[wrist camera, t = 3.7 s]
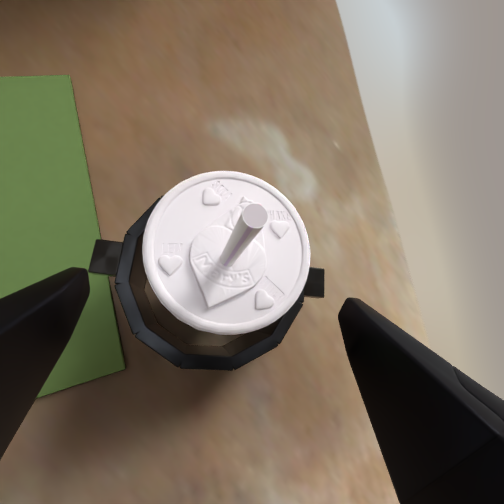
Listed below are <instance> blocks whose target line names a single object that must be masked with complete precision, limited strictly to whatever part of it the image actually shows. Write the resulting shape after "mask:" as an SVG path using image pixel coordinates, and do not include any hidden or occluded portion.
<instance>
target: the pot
mask: <svg viewBox="0 0 504 504" xmlns="http://www.w3.org/2000/svg"><path fill="white" fill-rule="evenodd" d="M162 197H163V196H161V198H158V199H157V200H156V201H155V202H154V203H153V205H152V206H151V207H150V208H149V209H148V210H147V211H146V212H145V213H144V214H143V215H142V216H141V217H140V218H139V219H138V220H137V221H136V222H135V223H134V224H133V225H132V226H131V227H130V228H129V229H128V231H127V234H125V237H124V241H123V242H116V241H108V240H101V239H96V241H95V245H94V249H93V253H92V257H91V261H90V265H89V269H88V272H89V273H92V274H95V275H104V276H113V277H116V278H115V284H116V285H115V289H116V291H117V294H118V297H119V299H120V302H121V305H122V307H123V310H124V312H125V315H126V318H127V320H128V323H129V326H130V328H131V331H132V334H133V335H134V334H136V335H135V337H136V338H137V339H139V340H140V341H141V342H143V343H144V344H146V345H147V346H148V347H150V348H151V349H153V350H154V351H155V352H157V353H158V354H160V355H161V356H162V357H164V358H165V359H167V360H168V361H169V362H171V363H172V364H174V365H175V366H176V367H179V366H180V368H181V369H204V370H227V371H232V370H233V368H234V370H236V369H238V368H240V367H241V366H243V365H245V364H247V363H249V362H250V361H252V360H254V359H256V358H258V357H259V356H261V355H263V354H265V353H267V352H268V351H270V350H272V349H274V348H276V347H277V346H278V344H280V343H281V341H282V340H283V338H284V336H285V334H286V333H287V331H288V329H289V328H290V326H291V324H292V323H293V321H294V319H295V318H296V316H297V314H298V312H299V311H300V309H301V307H302V306H303V304H302V303H303V302H304V297H310V298H324V269H321V268H313V267H309V272H308V276H307V280H306V283H305V285H304V288H303V290H302V292H301V294H300V295H299V297H298V299H297V300H296V301H295V303H294V304H293V305H292V307H291V308H290V309H289V310H288V311H287V312H286V313H285V314H284V315H283V316H281V317H280V318H279V319H277V320H276V321H275V322H273V323H271V324H269V325H268V326H266V327H263V328H261V329H259V330H255V331H252V332H249V333H247V334H246V335H244V336H242V337H240V338H238V339H236V340H234V341H232V342H230V343H228V344H226V345H224V346H222V347H221V346H205V345H189V344H185V343H184V342H183V341H181V340H180V339H178V338H177V337H176V336H174V335H173V334H171V333H170V332H169V331H167V330H166V329H164V328H163V327H162V326H160V325H159V324H157V321H156V319H155V316H154V314H153V311H152V309H151V306H150V304H149V301H148V299H147V296H146V293H145V291H144V288H145V283H146V277H147V275H146V272H145V268H144V263H143V255H142V245H143V236H144V232H145V228H146V225H147V222H148V219H149V217H150V215H151V213H152V211H153V210H154V208H155V206H156V205H157V204H158V202H159V201H160V200H161V199H162Z"/></svg>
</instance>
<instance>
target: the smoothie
mask: <svg viewBox="0 0 504 504" xmlns="http://www.w3.org/2000/svg"><path fill="white" fill-rule="evenodd" d="M142 255H143V263H144V268H145V272H146V275H147V278H148V281H149V283H150V285H151V287H152V289H153V291H154V293H155V294H156V296H157V297H158V299H159V300H160V302H161V304H162V305H164V306H165V307H166V308H167V309H168V310H169V311H170V312H171V313H172V314H173V315H174V316H175V317H176V318H177V319H178V320H180V321H182V322H184V323H186V324H188V325H190V326H191V327H193V328H195V329H197V330H200V331H205V332H210V333H214V334H219V335H235V334H244V333H248V332H252V331H255V330H259V329H261V328H263V327H266V326H268V325H269V324H271V323H273V322H275V321H276V320H277V319H279V318H280V317H281V316H283V315H284V314H285V313H286V312H287V311H288V310H289V309H290V308H291V307H292V305H293V304H294V303H295V301H296V300H297V299H298V297H299V295H300V294H301V292H302V290H303V288H304V285H305V283H306V280H307V276H308V272H309V266H310V245H309V239H308V235H307V232H306V229H305V226H304V224H303V221H302V219H301V217H300V215H299V214H298V212H297V210H296V209H295V207H294V206H293V205H292V204H291V202H290V201H289V200H288V199H287V198H286V197H285V196H284V195H283V194H282V193H281V192H280V191H278V190H277V189H276V188H274V187H273V186H272V185H270V184H268V183H267V182H265V181H263V180H261V179H259V178H256V177H254V176H251V175H248V174H244V173H240V172H233V171H213V172H207V173H203V174H199V175H196V176H193V177H191V178H188V179H186V180H184V181H183V182H181V183H179V184H178V185H176V186H175V187H173V188H172V189H171V190H170V191H168V192H167V193H166V194H165V195H164V196H163V197H162V199H161V200H160V201H159V202H158V204H157V205H156V206H155V208H154V210H153V211H152V213H151V215H150V217H149V219H148V222H147V225H146V228H145V232H144V236H143V245H142Z"/></svg>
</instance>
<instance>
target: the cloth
mask: <svg viewBox="0 0 504 504" xmlns="http://www.w3.org/2000/svg"><path fill="white" fill-rule="evenodd" d="M96 239H101V235H100V230H99V225H98V219H97V214H96V209H95V204H94V198H93V193H92V188H91V182H90V177H89V172H88V167H87V161H86V156H85V151H84V146H83V140H82V135H81V130H80V125H79V119H78V114H77V109H76V104H75V98H74V93H73V88H72V83H71V78H70V76H69V75H50V76H17V77H0V299H1V298H3V297H5V296H7V295H9V294H12V293H14V292H16V291H18V290H21V289H23V288H25V287H27V286H30V285H32V284H34V283H36V282H39V281H41V280H43V279H45V278H47V277H50V276H52V275H54V274H56V273H59V272H61V271H63V270H65V269H68V268H70V267H79V268H85V269H87V271H88V269H89V265H90V261H91V257H92V253H93V249H94V245H95V241H96ZM88 275H89V283H90V294H89V297H88V299H87V302H86V304H85V306H84V309H83V311H82V313H81V316H80V318H79V320H78V323H77V325H76V327H75V329H74V332H73V334H72V336H71V338H70V340H69V342H68V344H67V346H66V348H65V349H64V351H63V353H62V354H61V356H60V358H59V360H58V361H57V363H56V365H55V366H54V368H53V370H52V372H51V373H50V375H49V377H48V379H47V380H46V382H45V384H44V385H43V387H42V389H41V391H40V392H39V394H38V396H37V397H36V398H39V397H42V396H45V395H48V394H51V393H54V392H57V391H60V390H63V389H66V388H69V387H72V386H75V385H78V384H81V383H84V382H87V381H91V380H94V379H97V378H100V377H103V376H106V375H109V374H112V373H115V372H118V371H121V370H124V369H125V368H126V367H125V361H124V356H123V351H122V345H121V340H120V335H119V330H118V324H117V319H116V314H115V309H114V303H113V298H112V293H111V288H110V282H109V277H108V276H104V275H95V274H92V273H89V272H88Z"/></svg>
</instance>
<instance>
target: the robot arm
mask: <svg viewBox="0 0 504 504" xmlns="http://www.w3.org/2000/svg"><path fill="white" fill-rule="evenodd" d="M89 294H90V283H89V275H88V271H87V269H85V268H79V267H70V268H68V269H65V270H63V271H61V272H59V273H56V274H54V275H52V276H50V277H47V278H45V279H43V280H41V281H39V282H36V283H34V284H32V285H30V286H27V287H25V288H23V289H21V290H18V291H16V292H14V293H12V294H9V295H7V296H5V297H3V298H1V299H0V459H1V458H2V456H3V454H4V453H5V451H6V449H7V447H8V446H9V444H10V442H11V441H12V439H13V437H14V435H15V434H16V432H17V430H18V428H19V427H20V425H21V423H22V422H23V420H24V418H25V416H26V415H27V413H28V411H29V410H30V408H31V406H32V404H33V403H34V401H35V399H36V397H37V396H38V394H39V392H40V391H41V389H42V387H43V385H44V384H45V382H46V380H47V379H48V377H49V375H50V373H51V372H52V370H53V368H54V366H55V365H56V363H57V361H58V360H59V358H60V356H61V354H62V353H63V351H64V349H65V348H66V346H67V344H68V342H69V340H70V338H71V336H72V334H73V332H74V329H75V327H76V325H77V323H78V320H79V318H80V316H81V313H82V311H83V309H84V306H85V304H86V302H87V299H88V297H89ZM338 320H339V324H340V328H341V332H342V336H343V340H344V344H345V349H346V352H347V356H348V359H349V362H350V365H351V368H352V371H353V373H354V376H355V379H356V382H357V385H358V387H359V390H360V393H361V396H362V399H363V402H364V404H365V407H366V410H367V413H368V416H369V418H370V421H371V424H372V427H373V430H374V432H375V435H376V438H377V441H378V444H379V447H380V449H381V452H382V455H383V458H384V461H385V463H386V466H387V469H388V472H389V475H390V478H391V480H392V483H393V486H394V489H395V492H396V494H397V497H398V500H399V503H400V504H504V400H502V399H501V398H499V397H498V396H496V395H495V394H493V393H492V392H490V391H489V390H487V389H486V388H484V387H482V386H481V385H480V384H478V383H477V382H476V381H474V380H472V379H471V378H470V377H468V376H467V375H465V374H464V373H463V372H461V371H460V370H458V369H457V368H456V367H454V366H452V365H451V364H450V363H448V362H447V361H446V360H444V359H443V358H441V357H440V356H439V355H437V354H436V353H434V352H433V351H432V350H430V349H429V348H427V347H426V346H425V345H423V344H422V343H420V342H419V341H418V340H416V339H415V338H413V337H412V336H411V335H409V334H408V333H406V332H405V331H404V330H402V329H401V328H399V327H398V326H396V325H395V324H394V323H392V322H391V321H389V320H388V319H387V318H385V317H384V316H382V315H381V314H380V313H378V312H377V311H375V310H374V309H373V308H371V307H370V306H368V305H367V304H366V303H364V302H363V301H361V300H360V299H358V298H347V299H346V300H345V302H344V304H343V306H342V308H341V310H340V312H339V314H338Z"/></svg>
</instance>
